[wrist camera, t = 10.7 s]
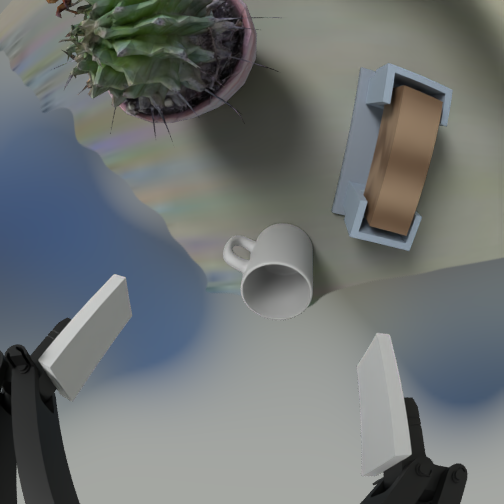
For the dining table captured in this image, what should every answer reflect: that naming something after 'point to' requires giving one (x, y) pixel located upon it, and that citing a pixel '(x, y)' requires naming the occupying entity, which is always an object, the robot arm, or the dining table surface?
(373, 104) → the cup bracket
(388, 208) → the tapered block
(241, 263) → the mug
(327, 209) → the dining table surface
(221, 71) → the potted plant
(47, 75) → the dining table surface
